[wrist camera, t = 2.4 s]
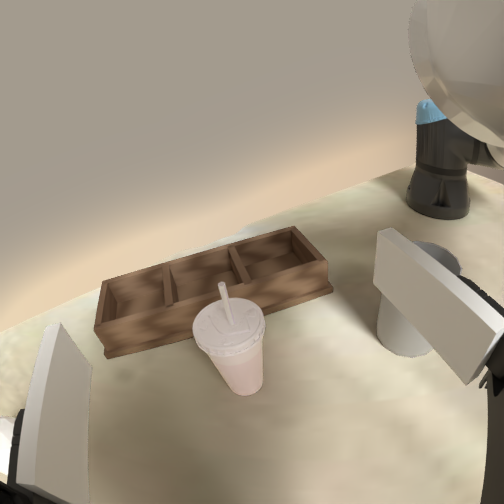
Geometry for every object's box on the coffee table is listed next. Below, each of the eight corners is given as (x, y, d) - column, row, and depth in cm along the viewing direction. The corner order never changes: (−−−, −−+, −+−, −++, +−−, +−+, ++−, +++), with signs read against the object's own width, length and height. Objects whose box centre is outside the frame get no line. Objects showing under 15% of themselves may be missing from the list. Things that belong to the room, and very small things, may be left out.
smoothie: (253, 416, 27) (221, 322, 20) (205, 389, 31) (160, 294, 23) (286, 371, 31) (273, 269, 24) (239, 351, 35) (212, 252, 27)
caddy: (298, 250, 51) (295, 223, 48) (332, 291, 41) (332, 262, 38) (112, 304, 46) (100, 280, 43) (107, 359, 36) (89, 333, 33)
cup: (369, 350, 32) (380, 282, 26) (381, 302, 37) (390, 237, 32) (438, 361, 28) (465, 295, 22) (441, 312, 34) (458, 247, 28)
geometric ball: (48, 456, 25) (33, 403, 25) (56, 493, 19) (35, 434, 19) (-3, 457, 20) (-20, 403, 21) (-3, 493, 14) (-29, 433, 14)
